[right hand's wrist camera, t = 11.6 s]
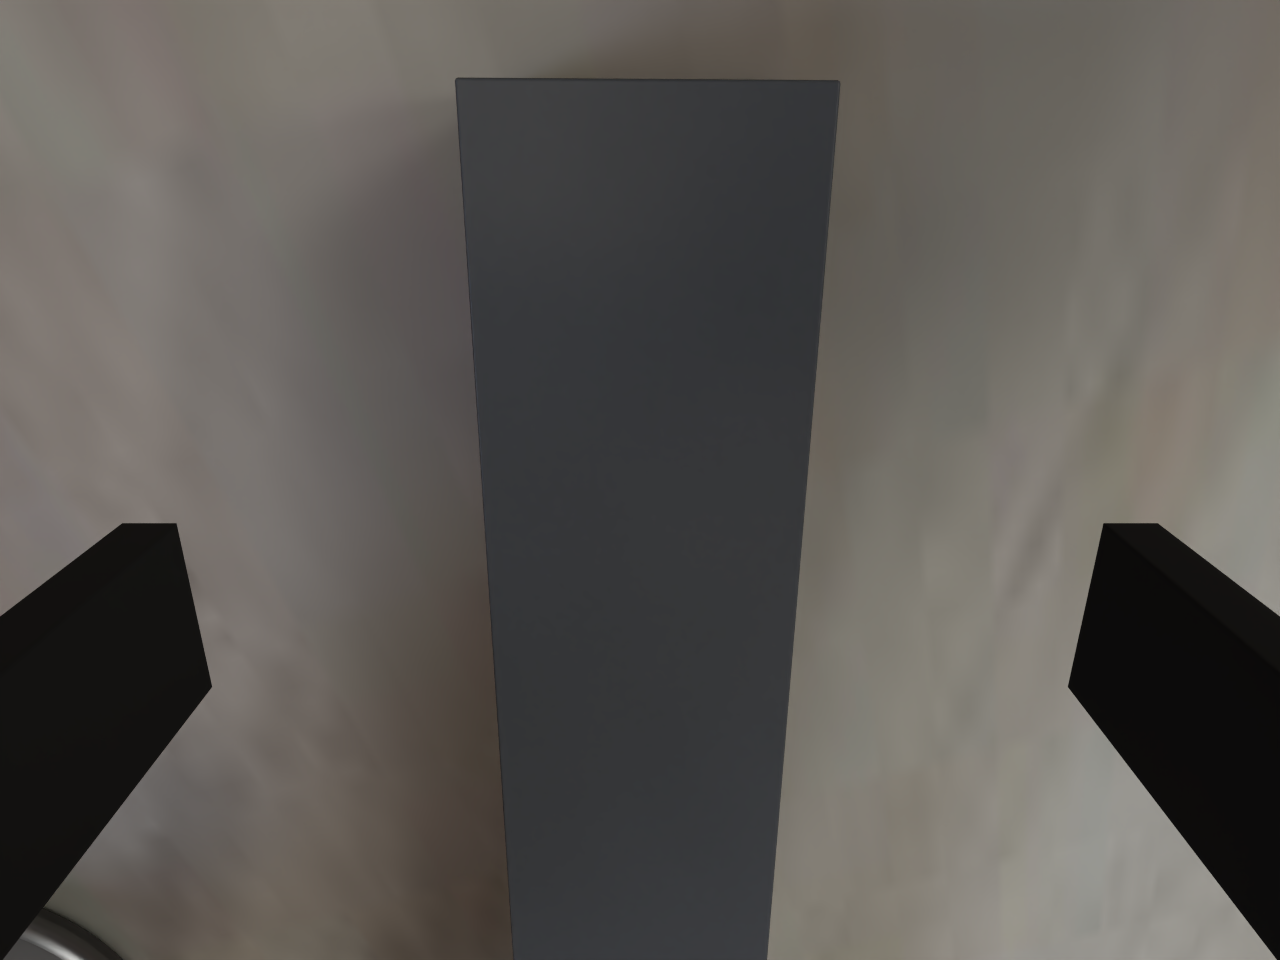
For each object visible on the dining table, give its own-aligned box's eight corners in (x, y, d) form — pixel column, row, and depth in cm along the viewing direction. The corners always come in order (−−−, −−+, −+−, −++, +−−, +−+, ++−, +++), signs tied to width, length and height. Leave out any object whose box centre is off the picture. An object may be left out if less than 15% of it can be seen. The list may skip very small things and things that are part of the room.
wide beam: (500, 89, 26) (453, 77, 20) (790, 92, 26) (841, 80, 20) (552, 1154, 45) (537, 1330, 39) (721, 1154, 45) (735, 1330, 39)
